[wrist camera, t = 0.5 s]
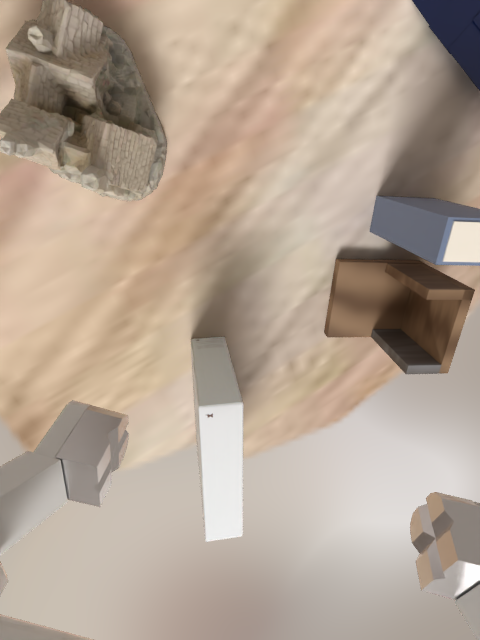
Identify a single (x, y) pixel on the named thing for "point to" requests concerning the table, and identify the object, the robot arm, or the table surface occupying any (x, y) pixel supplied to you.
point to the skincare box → (218, 437)
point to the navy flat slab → (456, 30)
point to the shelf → (399, 310)
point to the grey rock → (82, 105)
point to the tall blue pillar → (429, 228)
